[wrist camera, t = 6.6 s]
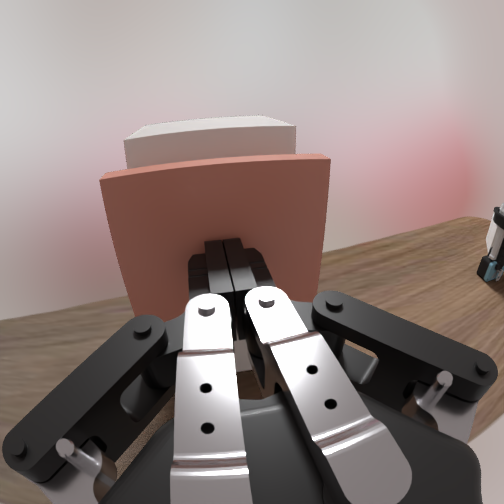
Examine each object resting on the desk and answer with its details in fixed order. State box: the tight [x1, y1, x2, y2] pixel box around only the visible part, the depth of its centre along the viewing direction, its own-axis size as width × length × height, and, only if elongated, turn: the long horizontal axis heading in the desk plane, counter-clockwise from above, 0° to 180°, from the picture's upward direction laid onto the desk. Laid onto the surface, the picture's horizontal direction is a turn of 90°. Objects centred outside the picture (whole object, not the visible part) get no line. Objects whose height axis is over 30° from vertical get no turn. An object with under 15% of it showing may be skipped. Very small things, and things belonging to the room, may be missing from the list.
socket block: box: [124, 115, 296, 372], centre depth 20 cm, size 7×8×17 cm
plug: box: [99, 154, 331, 322], centre depth 16 cm, size 8×9×8 cm
